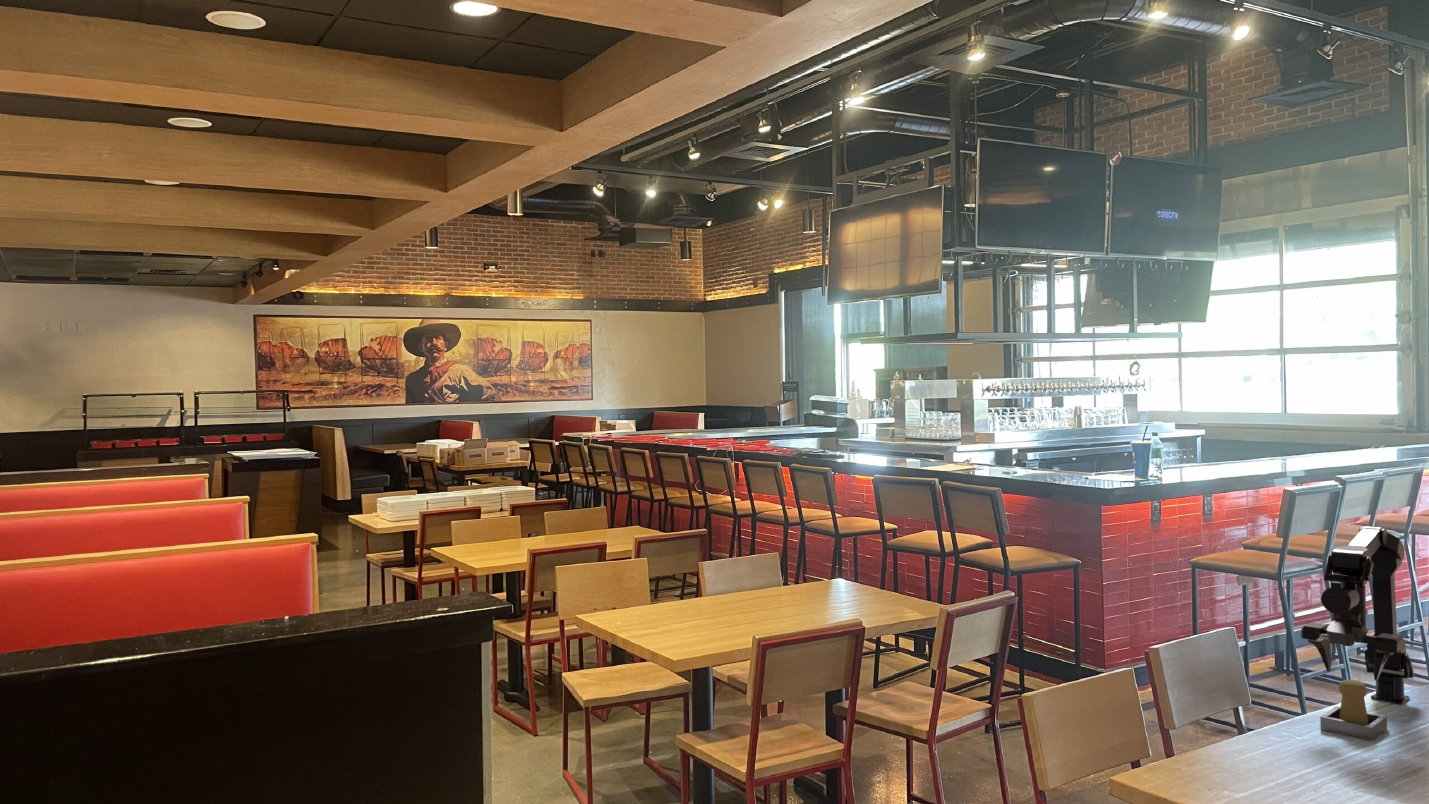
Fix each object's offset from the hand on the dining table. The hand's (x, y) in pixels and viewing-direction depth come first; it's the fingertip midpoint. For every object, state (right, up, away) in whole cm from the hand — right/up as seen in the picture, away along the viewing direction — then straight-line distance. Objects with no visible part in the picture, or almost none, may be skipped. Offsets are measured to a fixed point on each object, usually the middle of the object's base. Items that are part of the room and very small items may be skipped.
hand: (1352, 675), depth 217 cm
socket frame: (+1, -12, 0) cm, 12 cm away
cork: (+1, -13, 0) cm, 13 cm away
